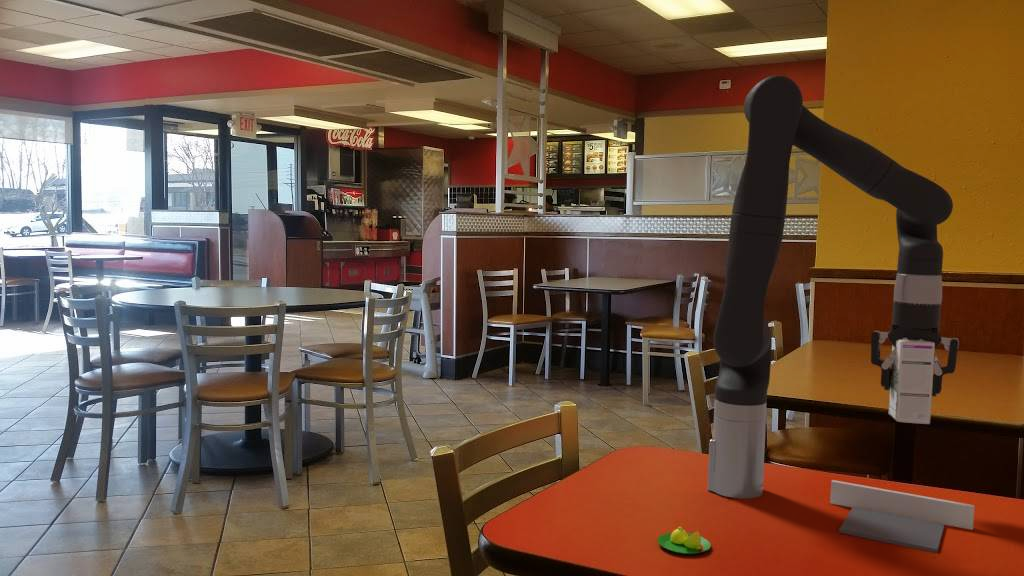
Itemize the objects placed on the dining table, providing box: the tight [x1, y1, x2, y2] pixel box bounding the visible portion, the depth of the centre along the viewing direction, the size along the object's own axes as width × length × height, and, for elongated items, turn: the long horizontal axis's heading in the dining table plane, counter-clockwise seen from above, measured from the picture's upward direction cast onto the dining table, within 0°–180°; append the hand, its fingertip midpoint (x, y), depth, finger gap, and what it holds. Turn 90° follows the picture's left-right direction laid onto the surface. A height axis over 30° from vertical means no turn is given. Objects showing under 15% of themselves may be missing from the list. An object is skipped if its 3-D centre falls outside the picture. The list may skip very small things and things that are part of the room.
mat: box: [838, 507, 945, 554], centre depth 129 cm, size 14×12×1 cm
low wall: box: [829, 479, 975, 531], centre depth 136 cm, size 22×1×4 cm, turn 57°
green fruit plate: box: [657, 526, 711, 555], centre depth 122 cm, size 8×8×3 cm
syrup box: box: [887, 339, 936, 425], centre depth 141 cm, size 6×6×14 cm
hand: (910, 392), depth 141 cm, fingers closed on syrup box, 7 cm apart
